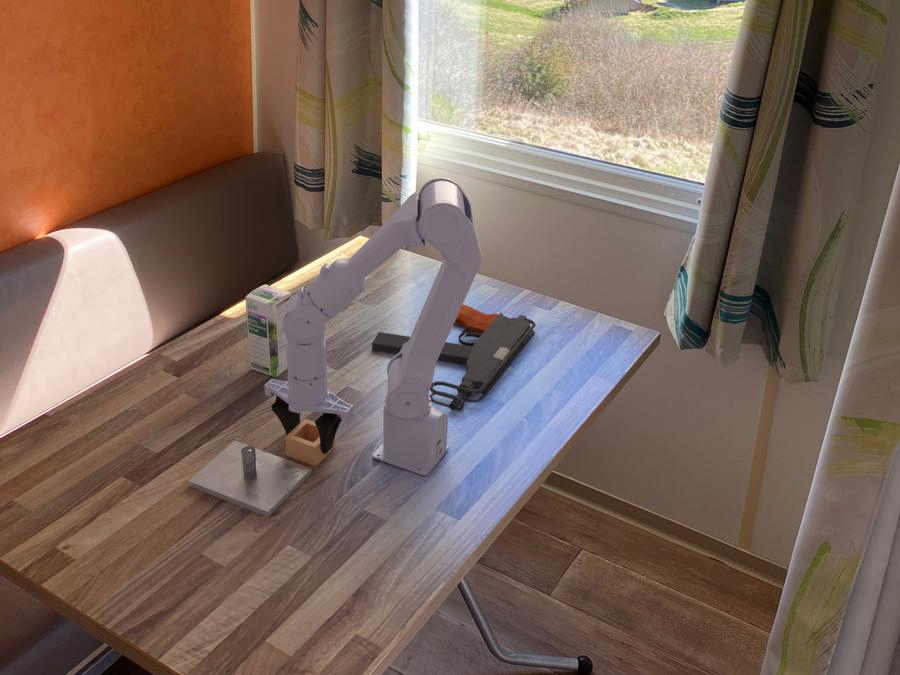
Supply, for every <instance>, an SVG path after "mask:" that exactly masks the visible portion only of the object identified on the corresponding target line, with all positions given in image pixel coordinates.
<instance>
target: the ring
mask: <svg viewBox="0 0 900 675" xmlns="http://www.w3.org/2000/svg"><path fill="white" fill-rule="evenodd" d="M284 437H285V438H284V440H285V442H284V443H285V455H286V457H289V458H292V459H294V460H296V461H300V462H303V463H305V464H309V465H311V466H313V467H317V466H319V464H320V463H321V462H323V460H324V459H325V458H326V457H327V456H328V455H329V454H330V453H331V452H332V451H333V450H334V449H336V437H335V438H334V442H333V447H332V448H331V449H330V450H329V451H328V452H327V453H326V454H324V453H322V451H321V447H320V435H319V431H318V429H317V426H316V425H315V421H313V420H310V419H307V418H304V419H303V420H302V421H300V424H299V425H297V426H296V427H295V428H294V429H293V430H292V431H291V432H290V433H289V434H288V435H287V434H286V435H285V436H284Z"/></svg>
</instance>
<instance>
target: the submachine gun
mask: <svg viewBox="0 0 900 675" xmlns="http://www.w3.org/2000/svg"><path fill="white" fill-rule="evenodd" d="M454 324H456V325H460V326H462V327H463V328H464V330H463V331H462V332H460V334H459V335H458V342H459V343H454V342H447V341H446V342H445V344H444V346H443V349H442V351H441V353H440V355H439V358H438V360H437V361H442V362H448V363H454V364H455V363H456V364H461V365H466V366H465V368H466V370H465V374H464V375H462V377H461V381H460V382H461V383H459V385H456V384H453V383H451V382H446V381H442V380H441V381H438V380H437V381H432V385H431V387H430V390H429V392H431V394H430V395H429V397H430V398H431V403H434V404H436V405H441V406H444V407H446V408H449V409H451V410H452V411H454V410H456V411H463V410H464V408H465V402H467V403H478V402H481V401H482V400H484V398H485V397H486V396H487V395H488V393H489V392H490V391H491V390H492V389H493V388H494V386H495V384H496V383H497V382H498V381H499V379H500V378H501V377H502V376H503V374H504V373H505V372H506V371H507V369H508V368H509V367H510V366H511V364H512V363H513V362H514V361H515V360H516V358H517V357H518V356H519V354H520V353H521V352H522V351H523V349H524V348H525V347H526V346H527V344H529V342H530V341H531V340H532V338H533V337H534V336H535V335H536V333H535V330H534V328H535V327H536V326H537V324H536V322H535V321H534V320H532V319H530V318H527V316H526V315H524V314H523V315H522V314H520V315H519V316H518V317H514V316H513V317H508V316H506V315H504V313H503V312H500V313H493V314H492V313H491V314H490V313H488V314H486V313H484V312H481V311H479V310H477V309H476V308H473V307H472V306H469V305H466V304H464V303H463V305H462V307H461V309H460V311H459V313H458V316H457V318H456V320H455V322H454ZM467 332H468V333H467ZM464 335H465V337H476V338H477V340H476V341H474V342H468V341H464V340H462V338H463V337H464ZM409 339H410V336H408V335H401V334H396V333H388V332H380V331H378V332H377V334H376V336H375V337H374V339H373V340H372V342H371V350H372V351H377V352H384V353H390V354H396V355H397V354H398V353H399V352H400V351H401V349H402V347H403V344H404V343H406V342H408V341H409ZM436 386H444V387H447V388H450V389H455V390H457V394H453V393H449V392H444V391H439V390H436V389H435V388H434V387H436ZM479 393H482V395H481V396H480V397H479V398H477V399H470V398H471V397H472V396H473V394H479ZM434 395H437V396H440V397H444V398H448V399H450V400H451V401H450V403H449V404H448V403H444V402H441V401H438V400H436V399H434V398H433V397H434ZM458 406H459V407H458Z"/></svg>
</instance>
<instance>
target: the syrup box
mask: <svg viewBox="0 0 900 675" xmlns="http://www.w3.org/2000/svg"><path fill="white" fill-rule="evenodd" d="M291 296H292V292H291V291H286V290H283V289H280V288H277V287H274V286H270V285H268V284H263V285H260V286H259V287H257V288H255V289H253V290H252V291H251V292H250V293H248V294H247V295H246V296H245V310H246V322H247V337H248V351H249V353H248V354H249V368H250V370H254V371H256V372H260V373H262V374H265V375H268V376H270V377H273V378H274V379H276V378H277V377H279V376H280V375H281V374H283V373H284V372H285V371H287V352H286V344H287V339H286V335H285V333H284V331H283V319H284V315H285V310H286V305H287V302H288V300H289V298H290V297H291Z"/></svg>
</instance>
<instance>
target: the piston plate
mask: <svg viewBox="0 0 900 675" xmlns="http://www.w3.org/2000/svg"><path fill="white" fill-rule="evenodd" d="M310 475H312V468H311V467H309V466H307V465H306V466H305V465H303V464H299V463H297V462H294V461H292V460H289V459H286V458H283V457H280V456H278V455H274V454H272V453H270V452H267V451H265V450H261V449H258V448H256V447H254V446H252V445H248V444H246V443H243V442H239V441H237V440H233V441H232V442H231V443H230V444H229V445H227V447H226V448H224V449H223V450H221V451H220V453H218V454H217V455H216V456H215V457H214V458H212V460H210V461H209V462H208V463H207V464H206V465H204V466H203V467H202V468H201V469H200V470H199V471H198V472H197V473H196V474H195V475H193V476H192V477H191V478H189V480H188V487H190V488H193V489H195V490H198V491H201V492H203V493H205V494H208V495H211V496H213V497H215V498H218V499H221V500H223V501H226V502H228V503H231V504H234V505H236V506H238V507H241V508H243V509H246V510H249V511H251V512H254V513H256V514H259V515H261V516H264V517H267V518H269V517H270V516H271V515H272V514H273V513H274V512H275V511H276V510H277V509H278V508H280V506H281V505H283V503H284V502H285V501H286V500H287V499H288V498H289V497H290V496H291V495H292V494H293V493H295V491H296V490H297V489H298V488H299V487H300V486H301V485H302V484H303V483H304V482H305V481H306V480H307V479H308V478H309V477H310Z"/></svg>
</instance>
